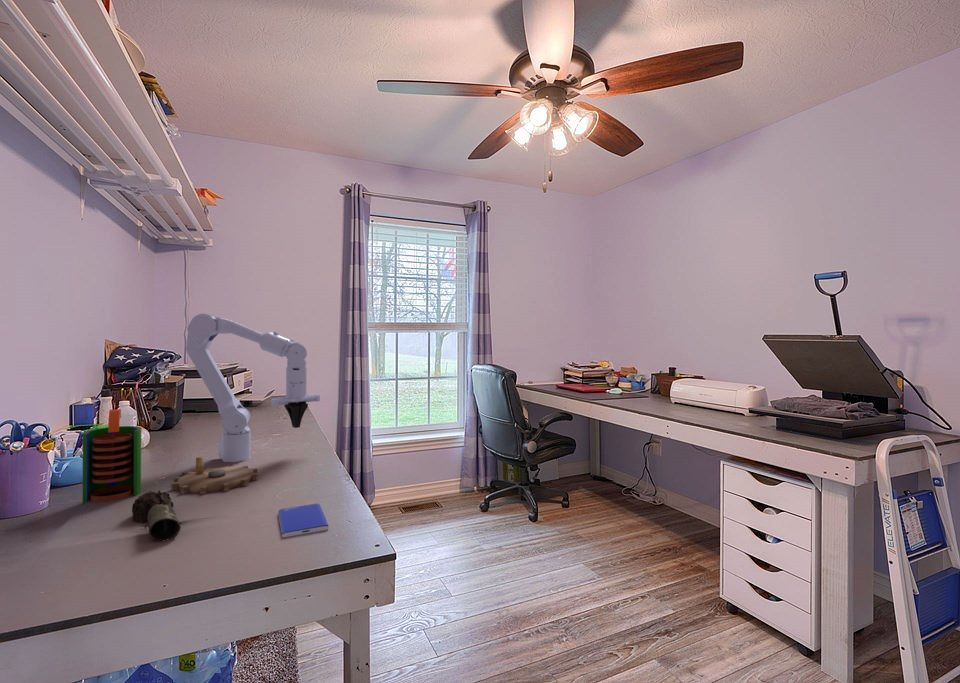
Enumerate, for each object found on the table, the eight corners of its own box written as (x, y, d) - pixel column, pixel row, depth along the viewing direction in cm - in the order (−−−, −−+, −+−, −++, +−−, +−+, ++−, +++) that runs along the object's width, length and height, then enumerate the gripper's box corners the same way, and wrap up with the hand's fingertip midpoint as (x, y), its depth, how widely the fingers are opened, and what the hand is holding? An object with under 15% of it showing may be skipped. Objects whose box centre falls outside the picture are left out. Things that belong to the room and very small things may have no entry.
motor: (82, 511, 96) (82, 415, 95) (82, 499, 102) (82, 410, 102) (142, 500, 102) (143, 411, 102) (138, 490, 109) (139, 406, 109)
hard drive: (278, 509, 95) (282, 532, 84) (319, 502, 99) (328, 524, 88) (278, 516, 95) (282, 540, 84) (319, 510, 99) (328, 532, 88)
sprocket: (274, 474, 118) (275, 453, 118) (213, 498, 101) (214, 473, 101) (219, 468, 124) (219, 448, 124) (152, 489, 106) (152, 465, 106)
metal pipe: (181, 538, 84) (180, 508, 84) (134, 549, 79) (134, 517, 79) (170, 509, 97) (170, 483, 97) (131, 517, 93) (130, 489, 93)
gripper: (279, 385, 131) (278, 432, 131) (325, 381, 142) (324, 425, 142) (267, 383, 135) (267, 429, 135) (313, 380, 146) (313, 422, 146)
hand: (296, 427), depth 139 cm, fingers closed
